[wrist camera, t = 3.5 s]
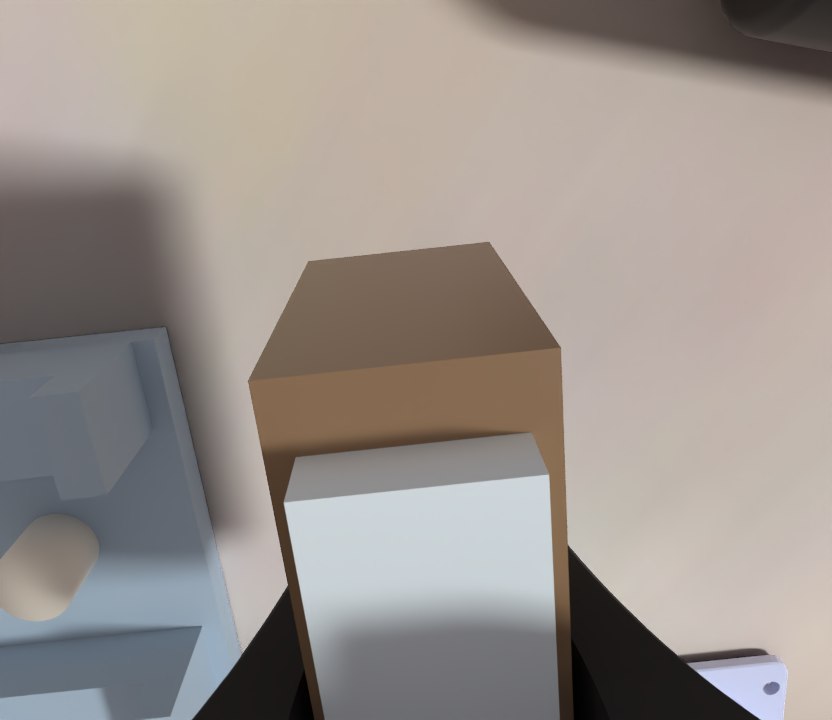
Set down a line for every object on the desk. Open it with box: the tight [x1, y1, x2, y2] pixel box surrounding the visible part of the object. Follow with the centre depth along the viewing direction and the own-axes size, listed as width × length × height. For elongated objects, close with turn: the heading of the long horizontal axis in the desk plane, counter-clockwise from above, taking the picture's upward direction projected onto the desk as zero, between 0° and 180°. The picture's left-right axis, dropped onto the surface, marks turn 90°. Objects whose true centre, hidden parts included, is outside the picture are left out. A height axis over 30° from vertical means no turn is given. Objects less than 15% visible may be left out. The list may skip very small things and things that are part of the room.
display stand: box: [0, 327, 241, 720], centre depth 18 cm, size 11×8×4 cm
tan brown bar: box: [248, 242, 574, 720], centre depth 10 cm, size 10×3×6 cm, turn 6°
